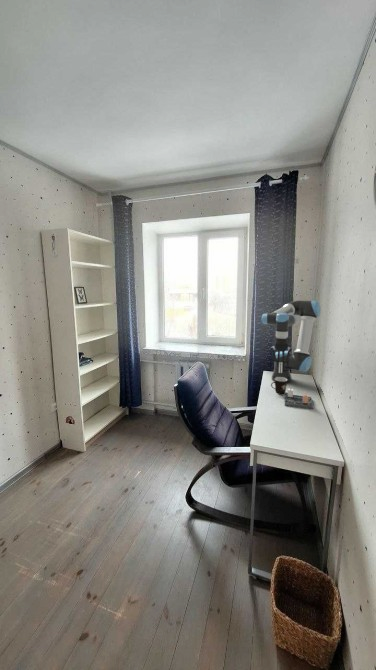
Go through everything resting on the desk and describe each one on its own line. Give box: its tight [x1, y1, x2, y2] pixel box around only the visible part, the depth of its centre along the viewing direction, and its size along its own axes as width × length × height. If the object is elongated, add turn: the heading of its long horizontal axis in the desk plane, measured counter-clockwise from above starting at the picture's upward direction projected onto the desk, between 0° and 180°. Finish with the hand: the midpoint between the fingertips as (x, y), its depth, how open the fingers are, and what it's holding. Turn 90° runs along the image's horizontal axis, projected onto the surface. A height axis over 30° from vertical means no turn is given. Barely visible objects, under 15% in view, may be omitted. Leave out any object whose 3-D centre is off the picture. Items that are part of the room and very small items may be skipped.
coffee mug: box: [270, 377, 288, 395], centre depth 191 cm, size 12×9×10 cm
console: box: [284, 393, 313, 410], centre depth 176 cm, size 14×16×3 cm
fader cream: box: [287, 388, 294, 397], centre depth 180 cm, size 3×3×5 cm
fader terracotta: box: [302, 393, 309, 403], centre depth 170 cm, size 3×3×5 cm
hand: (280, 372), depth 180 cm, fingers closed
